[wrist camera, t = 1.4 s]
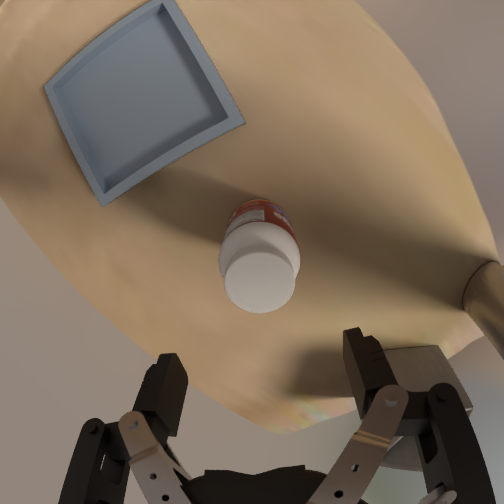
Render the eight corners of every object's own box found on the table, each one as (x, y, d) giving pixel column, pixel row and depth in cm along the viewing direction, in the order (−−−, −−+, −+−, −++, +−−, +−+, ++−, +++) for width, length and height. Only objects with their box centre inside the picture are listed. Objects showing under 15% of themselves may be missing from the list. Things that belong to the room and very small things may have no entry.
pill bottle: (297, 245, 29) (316, 308, 19) (241, 262, 30) (233, 331, 20) (279, 189, 27) (292, 228, 17) (219, 209, 28) (197, 258, 18)
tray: (174, 0, 18) (168, -9, 16) (246, 123, 24) (245, 122, 22) (57, 87, 21) (43, 86, 19) (113, 200, 27) (102, 207, 25)
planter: (428, 319, 33) (491, 423, 16) (438, 346, 36) (489, 438, 18) (335, 377, 38) (360, 493, 20) (355, 397, 40) (380, 496, 23)
